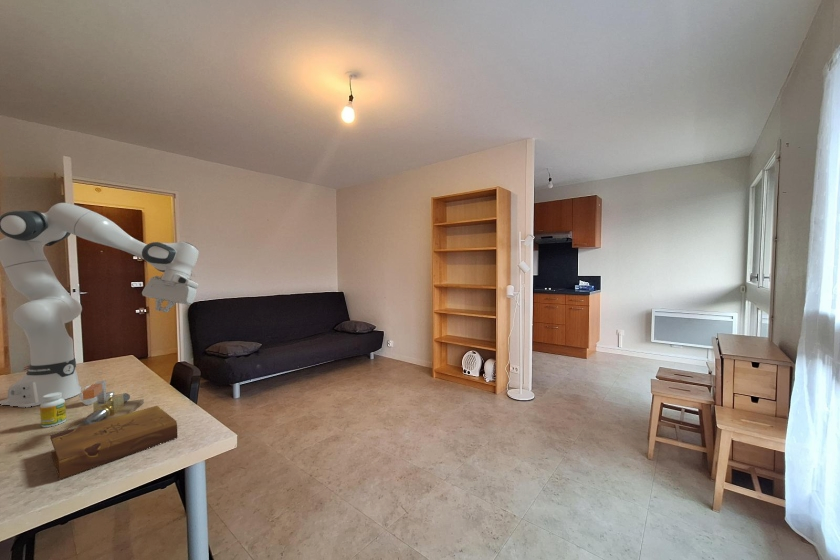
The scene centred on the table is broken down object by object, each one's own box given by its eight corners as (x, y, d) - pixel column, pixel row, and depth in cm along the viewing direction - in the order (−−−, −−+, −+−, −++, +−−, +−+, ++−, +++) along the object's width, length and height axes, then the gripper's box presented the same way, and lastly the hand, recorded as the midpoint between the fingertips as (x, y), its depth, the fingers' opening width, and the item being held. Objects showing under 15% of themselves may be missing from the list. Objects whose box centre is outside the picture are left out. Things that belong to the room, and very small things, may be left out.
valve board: (113, 428, 100) (113, 423, 100) (67, 434, 96) (67, 429, 96) (143, 403, 119) (143, 399, 119) (106, 407, 115) (105, 403, 115)
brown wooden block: (60, 483, 75) (58, 459, 75) (51, 456, 86) (49, 435, 86) (177, 440, 94) (176, 420, 93) (157, 422, 105) (157, 404, 105)
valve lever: (104, 396, 108) (103, 375, 108) (115, 395, 109) (114, 373, 109) (82, 416, 93) (81, 391, 93) (96, 414, 95) (94, 389, 94)
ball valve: (101, 426, 99) (100, 409, 99) (79, 429, 97) (78, 411, 97) (133, 401, 118) (133, 386, 118) (116, 403, 116) (115, 388, 116)
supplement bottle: (49, 421, 105) (47, 392, 105) (70, 418, 107) (69, 390, 107) (36, 429, 100) (34, 398, 100) (58, 426, 102) (57, 396, 101)
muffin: (85, 407, 115) (84, 388, 115) (75, 405, 118) (74, 386, 117) (106, 401, 121) (105, 382, 121) (97, 398, 123) (96, 381, 123)
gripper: (146, 272, 131) (131, 305, 127) (192, 281, 130) (178, 314, 126) (158, 277, 137) (144, 308, 133) (202, 285, 136) (189, 317, 132)
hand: (161, 311), depth 129 cm, fingers closed
